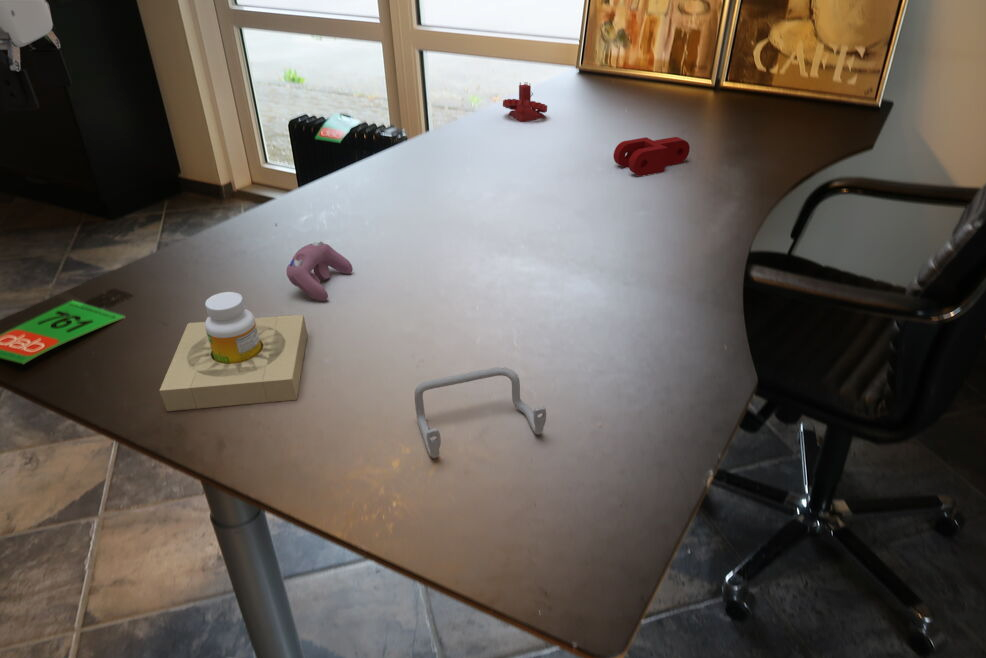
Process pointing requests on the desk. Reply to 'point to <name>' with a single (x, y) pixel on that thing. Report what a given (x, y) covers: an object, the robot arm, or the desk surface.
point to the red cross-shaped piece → (525, 106)
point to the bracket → (427, 434)
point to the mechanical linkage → (650, 154)
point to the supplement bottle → (231, 329)
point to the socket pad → (237, 368)
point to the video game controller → (315, 268)
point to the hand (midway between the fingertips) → (41, 97)
